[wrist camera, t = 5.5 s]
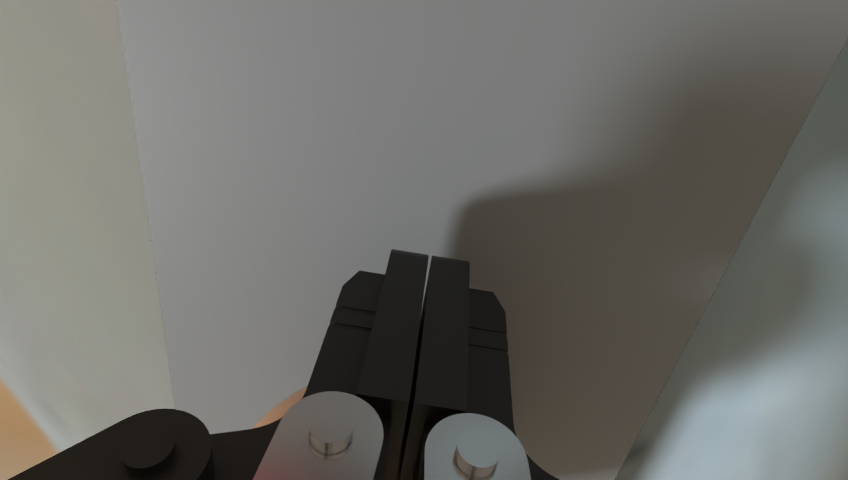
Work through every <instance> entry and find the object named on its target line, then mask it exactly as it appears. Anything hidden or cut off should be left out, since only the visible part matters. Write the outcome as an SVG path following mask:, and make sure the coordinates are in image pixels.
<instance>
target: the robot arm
mask: <svg viewBox="0 0 848 480" xmlns="http://www.w3.org/2000/svg"><path fill="white" fill-rule="evenodd" d="M428 259H429V255H426V254H420V253H414V252H408V251H401V250H395V249H391V253H390V257H389V261H388V265H387V269H386V273H385V274H378V273H372V272H366V271H358V272H357V273H356V274H355V275H354V276H353V277H352V278H351V279H349V280H348V281H347V282H346V283H345V284H344V285H343V286H342V289H341V292H340V295H339V297H338V300H337V303H336V307H335V309H334V312H333V315H332V317H331V320H330V325H329V326H328V329H327V332H326V335H325V337H324V340H323V343H322V346H321V349H320V352H319V355H318V357H317V360H316V363H315V366H314V369H313V372H312V375H311V378H310V380H309V383H308V386H307V389H306V391H305V393H304V396H303V397H302V399H301V400H300V401H298V402H296V403H295V404H294V405H293V406H292V407H290V408H289V410H288V411H287V412H286V413H285V414H284V416H283V417H282V418H280V419H278V420H277V421H274V422H272V423H270V424H268V425H264V426H261V427H258V428H253V429H248V430H240V431H232V432H224V433H216V434H209V431H208V429H207V428H206V426H205V425H204V423H203V422H202V421H201V420H200V419H199V418H197V417H195V416H194V415H192V414H190V413H187V412H185V411H181V410H176V409H155V410H150V411H145V412H142V413H139V414H135V415H133V416H131V417H128V418H126V419H124V420H122V421H120V422H118V423H116V424H114V425H112V426H111V427H109V428H107V429H105V430H103V431H101V432H99V433H97V434H95V435H93V436H91V437H89V438H87V439H85V440H84V441H82V442H80V443H78V444H76V445H74V446H72V447H70V448H68V449H66V450H64V451H62V452H60V453H58V454H56V455H55V456H53V457H51V458H49V459H47V460H45V461H43V462H41V463H39V464H37V465H35V466H33V467H31V468H29V469H28V470H26V471H24V472H22V473H20V474H18V475H16V476H14V477H12V478H10V479H8V480H395V476H396V471H397V465H398V460H399V455H400V449H401V444H402V438H403V433H404V440H403V447H402V454H401V461H400V469H399V476H398V480H559V479H558V478H556V477H554V476H552V475H550V474H549V473H547V472H546V471H544V470H543V469H542V468H540V467H539V466H538V465H537V464H536V463H535V462H534V461H533V460H532V459H531V458H530V457H529V456H528V455H527V454H526V452H525V450H524V448H523V446H522V444H521V443H520V441H519V440H518V438H517V436H516V433H515V429H514V423H513V410H512V396H511V382H510V368H509V355H508V340H507V337H506V335H507V326H506V312H505V310H504V309H503V307H502V305H501V304H500V302H499V301H498V299H497V297H496V296H495V294H494V293H493V292H490V291H484V290H478V289H472V288H469V284H470V262H469V261H464V260H458V259H451V258H445V257H439V256H433V255H432V258H431V263H430V268H429V274H428V280H427V285H426V291H425V296H424V288H425V281H426V273H427V266H428ZM423 296H424V302H423ZM422 303H423V307H422ZM421 311H422V313H421ZM420 318H421V319H420ZM405 422H406V425H405ZM404 428H405V432H404Z"/></svg>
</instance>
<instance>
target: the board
mask: <svg viewBox="0 0 848 480" xmlns="http://www.w3.org/2000/svg"><path fill="white" fill-rule="evenodd" d="M116 1H117V8H118V15H119V22H120V29H121V36H122V43H123V50H124V57H125V64H126V71H127V78H128V85H129V92H130V98H131V105H132V112H133V119H134V126H135V133H136V140H137V147H138V154H139V161H140V168H141V175H142V182H143V189H144V196H145V203H146V210H147V217H148V224H149V231H150V238H151V245H152V252H153V259H154V266H155V273H156V280H157V287H158V294H159V300H160V307H161V314H162V321H163V328H164V335H165V342H166V349H167V356H168V363H169V370H170V377H171V384H172V391H173V398H174V405H175V409H176V410H181V411H185V412H187V413H190V414H192V415H194V416H195V417H197V418H199V419H200V420H201V421H202V422H203V423H204V425H205V426H206V428H207V429H208V431H209V434H216V433H224V432H232V431H240V430H248V429H251V428H252V427H254V426H255V425H256V424H257V423H258V422H259V421H260V420H261V419H262V418H263V417H264V416H265V415H266V414H267V413H268V412H269V411H270V410H271V409H272V408H274V407H275V406H276V405H278V404H279V403H281V402H282V401H283V400H285V399H286V398H287V397H289V396H290V395H292V394H294V393H295V392H297V391H299V390H300V389H302V388H304V387H306V386H308V383H309V380H310V378H311V375H312V372H313V369H314V366H315V363H316V360H317V357H318V355H319V352H320V349H321V346H322V343H323V340H324V337H325V335H326V332H327V329H328V326H329V325H330V320H331V317H332V315H333V312H334V309H335V307H336V303H337V300H338V297H339V295H340V292H341V289H342V286H343V285H344V284H345V283H346V282H347V281H348V280H349V279H351V278H352V277H353V276H354V275H355V274H356V273H357V272H358V271H366V272H372V273H378V274H385V273H386V269H387V265H388V261H389V257H390V253H391V249H395V250H401V251H408V252H414V253H420V254H426V255H429V259H428V266H427V273H426V281H425V288H424V296H425V291H426V285H427V280H428V274H429V268H430V263H431V258H432V255H433V256H439V257H445V258H451V259H458V260H464V261H469V262H470V284H469V288H472V289H478V290H484V291H490V292H493V293H494V294H495V296H496V297H497V299H498V301H499V302H500V304H501V305H502V307H503V309H504V310H505V312H506V326H507V335H506V337H507V340H508V355H509V368H510V382H511V396H512V410H513V423H514V429H515V433H516V436H517V438H518V440H519V441H520V443H521V444H522V446H523V448H524V449H525V451H526V453H527V454H528V456H529V457H530V458H531V459H532V460H533V461H534V462H535V463H536V464H537V465H538V466H539V467H540V468H542V469H543V470H544V471H546V472H547V473H549V474H550V475H552V476H554V477H556V478H558V479H559V480H615V478H616V476H617V474H618V473H619V471H620V469H621V467H622V465H623V463H624V461H625V459H626V457H627V456H628V454H629V452H630V450H631V448H632V446H633V444H634V442H635V440H636V438H637V437H638V435H639V433H640V431H641V429H642V427H643V425H644V423H645V421H646V420H647V418H648V416H649V414H650V412H651V410H652V408H653V406H654V404H655V403H656V401H657V399H658V397H659V395H660V393H661V391H662V389H663V387H664V385H665V384H666V382H667V380H668V378H669V376H670V374H671V372H672V370H673V368H674V367H675V365H676V363H677V361H678V359H679V357H680V355H681V353H682V351H683V350H684V348H685V346H686V344H687V342H688V340H689V338H690V336H691V334H692V333H693V331H694V329H695V327H696V325H697V323H698V321H699V319H700V317H701V315H702V314H703V312H704V310H705V308H706V306H707V304H708V302H709V300H710V298H711V297H712V295H713V293H714V291H715V289H716V287H717V285H718V283H719V281H720V280H721V278H722V276H723V274H724V272H725V270H726V268H727V266H728V264H729V263H730V261H731V259H732V257H733V255H734V253H735V251H736V249H737V247H738V245H739V244H740V242H741V240H742V238H743V236H744V234H745V232H746V230H747V228H748V227H749V225H750V223H751V221H752V219H753V217H754V215H755V213H756V211H757V210H758V208H759V206H760V204H761V202H762V200H763V198H764V196H765V194H766V192H767V191H768V189H769V187H770V185H771V183H772V181H773V179H774V177H775V175H776V174H777V172H778V170H779V168H780V166H781V164H782V162H783V160H784V158H785V157H786V155H787V153H788V151H789V149H790V147H791V145H792V143H793V141H794V140H795V138H796V136H797V134H798V132H799V130H800V128H801V126H802V124H803V122H804V121H805V119H806V117H807V115H808V113H809V111H810V109H811V107H812V105H813V104H814V102H815V100H816V98H817V96H818V94H819V92H820V90H821V88H822V87H823V85H824V83H825V81H826V79H827V77H828V75H829V73H830V71H831V70H832V68H833V66H834V64H835V62H836V60H837V58H838V56H839V54H840V52H841V51H842V49H843V47H844V45H845V43H846V41H847V39H848V0H116ZM424 296H423V302H424ZM422 307H423V303H422ZM421 313H422V311H421ZM420 319H421V318H420Z"/></svg>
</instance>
